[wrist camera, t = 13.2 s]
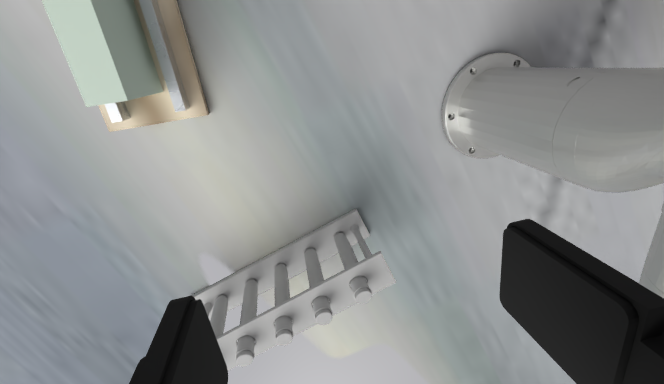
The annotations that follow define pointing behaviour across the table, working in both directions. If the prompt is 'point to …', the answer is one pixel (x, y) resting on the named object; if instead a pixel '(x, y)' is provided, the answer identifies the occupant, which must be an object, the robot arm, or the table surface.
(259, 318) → the test tube rack
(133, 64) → the door panel
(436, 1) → the table surface
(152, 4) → the bottom track
